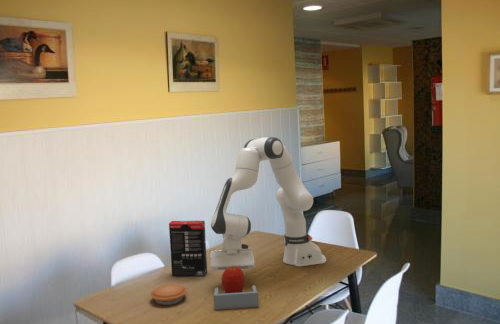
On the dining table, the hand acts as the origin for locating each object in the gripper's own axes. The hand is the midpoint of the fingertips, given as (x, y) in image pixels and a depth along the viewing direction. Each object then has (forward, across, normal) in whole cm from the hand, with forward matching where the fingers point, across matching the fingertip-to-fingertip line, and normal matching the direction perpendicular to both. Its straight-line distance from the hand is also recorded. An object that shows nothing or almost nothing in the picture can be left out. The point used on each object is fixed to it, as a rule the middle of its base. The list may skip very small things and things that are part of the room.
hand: (233, 277), depth 208 cm
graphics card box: (-12, -22, +21) cm, 33 cm away
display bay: (+11, +1, -3) cm, 12 cm away
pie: (+9, -28, +1) cm, 29 cm away
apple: (+8, 0, 0) cm, 8 cm away
